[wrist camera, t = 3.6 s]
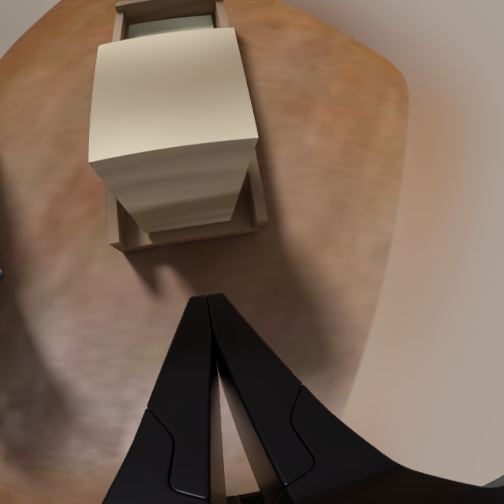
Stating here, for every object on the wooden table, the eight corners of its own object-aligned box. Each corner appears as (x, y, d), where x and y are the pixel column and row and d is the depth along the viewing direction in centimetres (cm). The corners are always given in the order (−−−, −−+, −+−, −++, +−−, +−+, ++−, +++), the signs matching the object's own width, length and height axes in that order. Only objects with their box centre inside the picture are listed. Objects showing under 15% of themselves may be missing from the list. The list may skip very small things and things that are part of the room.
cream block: (230, 220, 15) (258, 137, 7) (145, 233, 14) (88, 162, 6) (218, 145, 15) (233, 27, 8) (139, 156, 15) (98, 45, 7)
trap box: (258, 232, 16) (270, 216, 13) (122, 252, 15) (105, 241, 12) (218, 19, 18) (222, -11, 15) (122, 31, 17) (116, 2, 14)
